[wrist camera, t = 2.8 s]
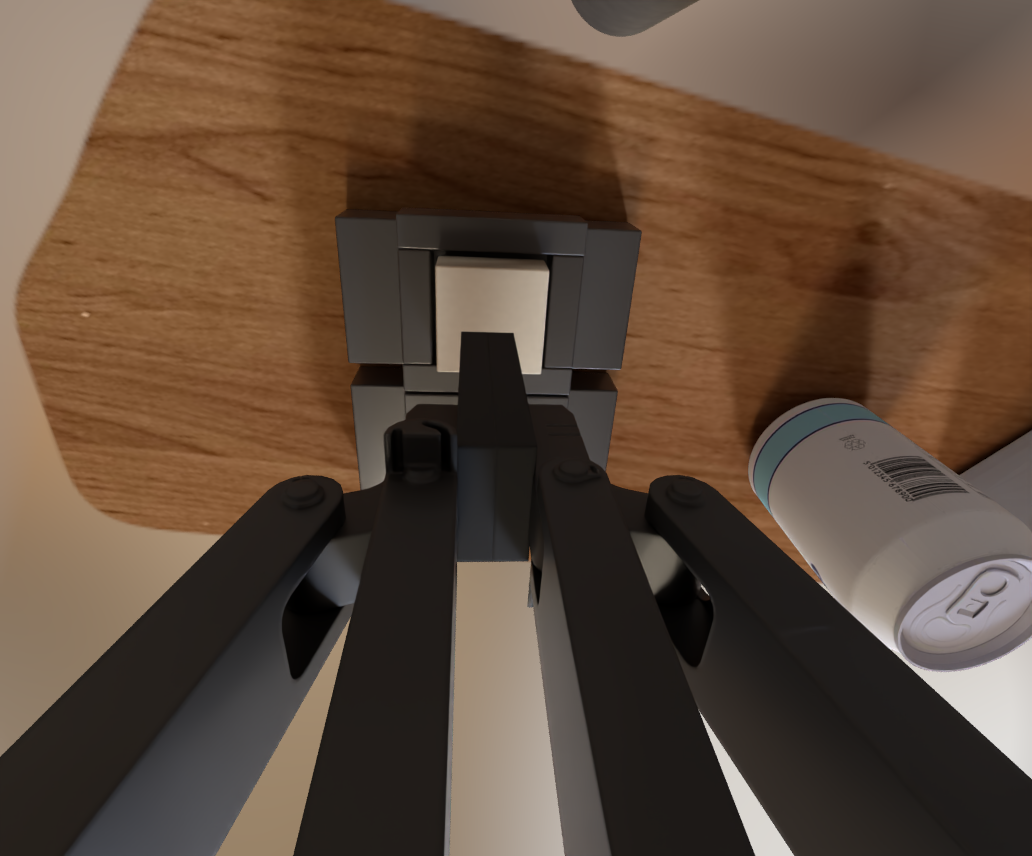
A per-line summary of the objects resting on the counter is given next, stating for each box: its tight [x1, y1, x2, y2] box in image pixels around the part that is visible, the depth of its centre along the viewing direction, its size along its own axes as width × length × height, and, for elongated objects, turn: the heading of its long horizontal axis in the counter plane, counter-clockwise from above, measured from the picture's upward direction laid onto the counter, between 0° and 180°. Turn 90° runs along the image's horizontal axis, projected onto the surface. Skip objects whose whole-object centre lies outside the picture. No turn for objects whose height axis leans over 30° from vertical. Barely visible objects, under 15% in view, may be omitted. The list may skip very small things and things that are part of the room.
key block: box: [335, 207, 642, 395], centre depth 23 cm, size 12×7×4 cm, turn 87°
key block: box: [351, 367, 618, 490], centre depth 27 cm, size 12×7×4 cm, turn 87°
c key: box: [435, 256, 549, 374], centre depth 21 cm, size 4×4×2 cm
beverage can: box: [748, 398, 1032, 672], centre depth 25 cm, size 7×7×12 cm
